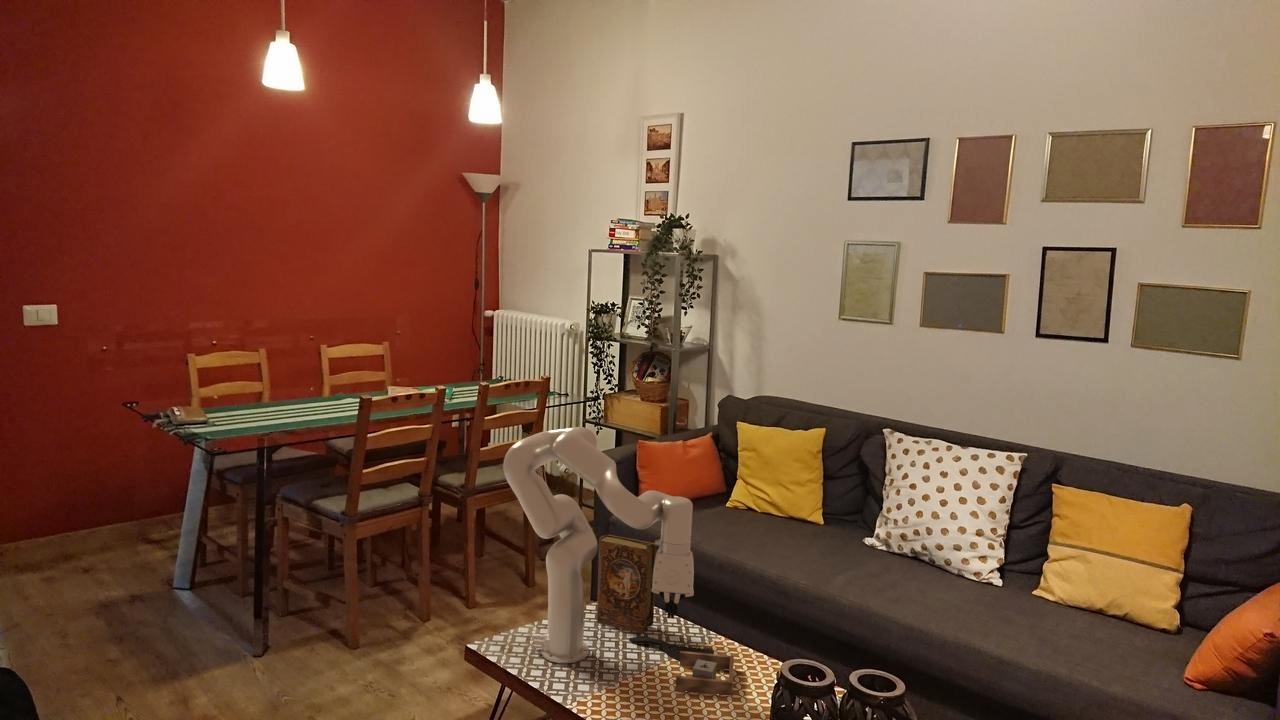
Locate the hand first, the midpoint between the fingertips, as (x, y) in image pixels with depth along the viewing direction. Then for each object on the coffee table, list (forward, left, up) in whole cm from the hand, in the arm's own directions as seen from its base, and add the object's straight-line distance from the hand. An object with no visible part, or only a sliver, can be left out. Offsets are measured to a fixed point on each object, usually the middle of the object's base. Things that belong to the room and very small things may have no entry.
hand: (671, 615), depth 211 cm
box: (+9, 0, -16) cm, 19 cm away
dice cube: (+9, -2, -17) cm, 19 cm away
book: (-16, +27, -16) cm, 35 cm away
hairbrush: (-1, +13, -17) cm, 22 cm away
